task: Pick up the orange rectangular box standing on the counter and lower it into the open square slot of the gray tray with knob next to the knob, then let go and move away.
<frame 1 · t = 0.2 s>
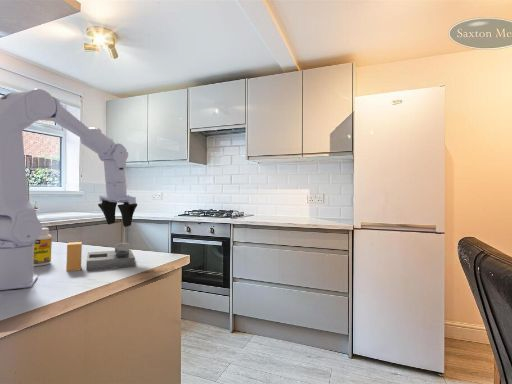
hand: (119, 224, 92), 11 cm above the counter, tool pointing down, fingers open, 7 cm apart
gray tray with knob: (110, 263, 85), on the counter
orange rectangular box: (73, 268, 79), on the counter
supplement bottle: (39, 265, 82), on the counter
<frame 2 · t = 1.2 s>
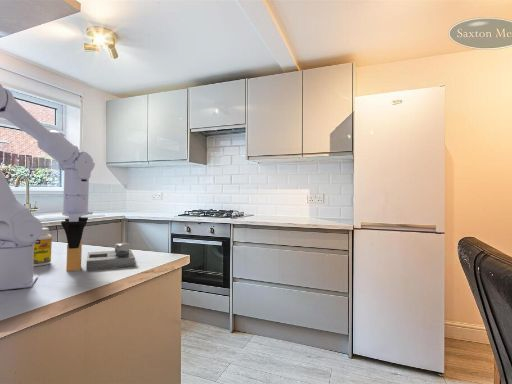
hand: (74, 245, 79), 6 cm above the counter, tool pointing down, fingers open, 7 cm apart
nothing on the counter moved.
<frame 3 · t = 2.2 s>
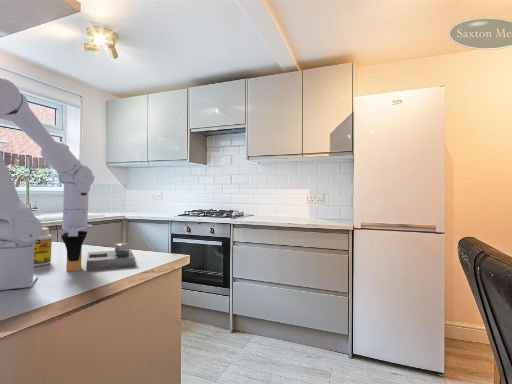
hand: (74, 259, 79), 3 cm above the counter, tool pointing down, fingers closed on orange rectangular box, 3 cm apart
orange rectangular box: (73, 268, 79), on the counter, touching gripper
everything else where it was.
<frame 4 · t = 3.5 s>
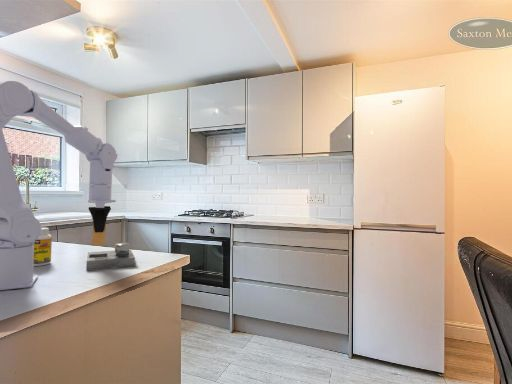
hand: (99, 231, 84), 10 cm above the counter, tool pointing down, fingers closed on orange rectangular box, 3 cm apart
orange rectangular box: (98, 243, 84), point 6 cm above the counter, touching gripper
everything else where it was.
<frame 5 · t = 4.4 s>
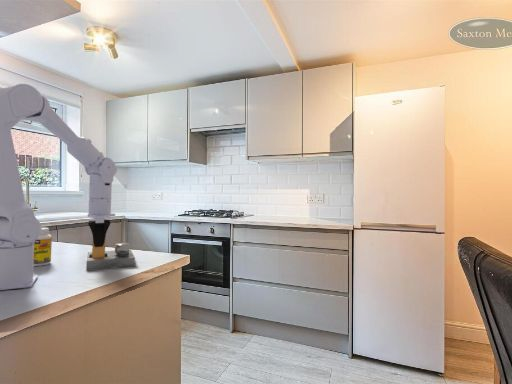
hand: (98, 245, 84), 6 cm above the counter, tool pointing down, fingers closed on orange rectangular box, 3 cm apart
orange rectangular box: (98, 258, 84), point 2 cm above the counter, touching gripper
everything else where it was.
when the fingers open (4 cm above the counter, at t = 5.1 s): orange rectangular box stays where it is, resting in gray tray with knob.
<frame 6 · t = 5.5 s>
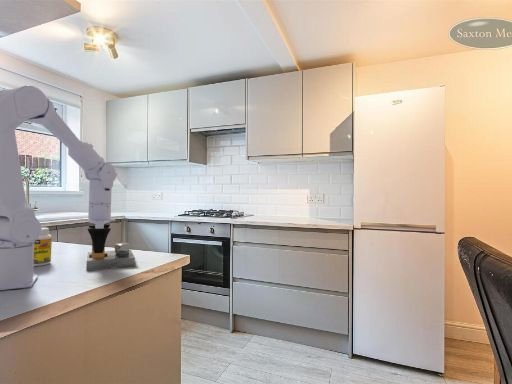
hand: (98, 250, 84), 4 cm above the counter, tool pointing down, fingers open, 6 cm apart
orange rectangular box: (97, 264, 84), resting in gray tray with knob
everything else where it was.
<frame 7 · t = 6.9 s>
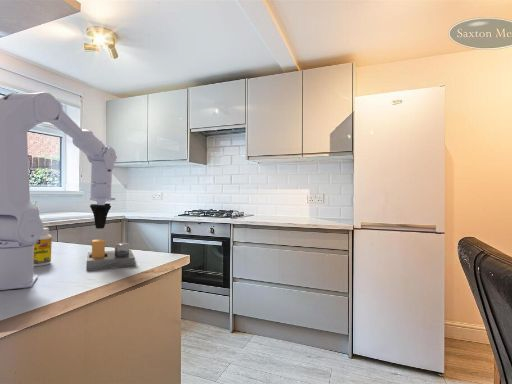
hand: (100, 226, 91), 10 cm above the counter, tool pointing down, fingers open, 7 cm apart
nothing on the counter moved.
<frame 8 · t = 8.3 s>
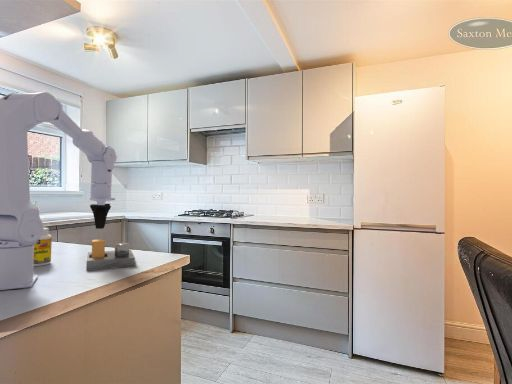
hand: (99, 226, 91), 10 cm above the counter, tool pointing down, fingers open, 7 cm apart
nothing on the counter moved.
at the end: orange rectangular box 0.1 cm from the target spot on the gray tray with knob, point 0.0 cm above the gray tray with knob's base; orange rectangular box tilted 0°; the gripper is holding nothing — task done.
